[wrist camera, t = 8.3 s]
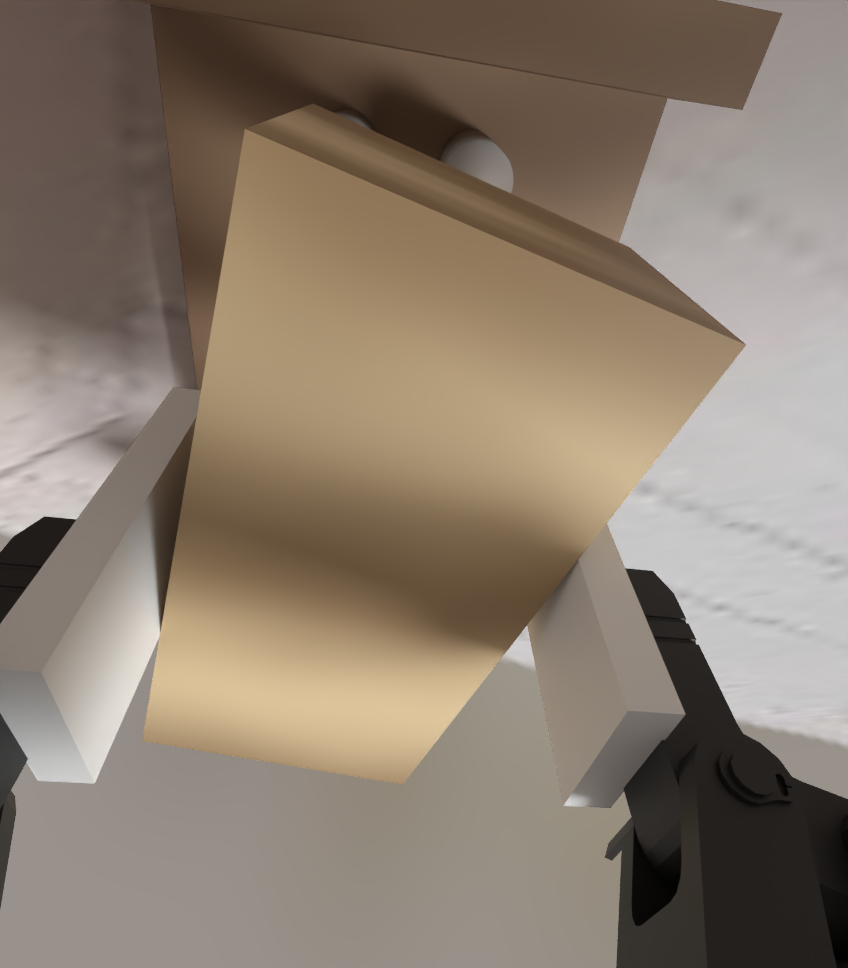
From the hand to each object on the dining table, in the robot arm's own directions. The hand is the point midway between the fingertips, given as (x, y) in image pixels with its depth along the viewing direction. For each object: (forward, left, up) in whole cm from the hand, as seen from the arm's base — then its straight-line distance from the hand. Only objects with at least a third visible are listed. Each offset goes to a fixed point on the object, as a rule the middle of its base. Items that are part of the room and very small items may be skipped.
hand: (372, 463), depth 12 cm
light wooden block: (0, 0, -1) cm, 1 cm away
